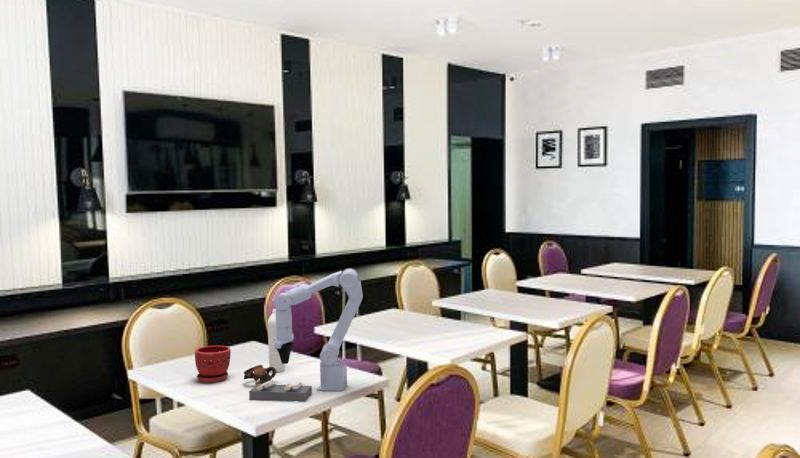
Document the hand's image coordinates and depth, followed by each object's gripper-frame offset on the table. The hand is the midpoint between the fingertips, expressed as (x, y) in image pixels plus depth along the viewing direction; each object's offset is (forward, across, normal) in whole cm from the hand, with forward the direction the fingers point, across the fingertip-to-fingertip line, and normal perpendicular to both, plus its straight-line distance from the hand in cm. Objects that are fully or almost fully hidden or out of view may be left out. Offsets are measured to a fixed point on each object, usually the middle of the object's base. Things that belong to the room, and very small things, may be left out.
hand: (285, 363), depth 227 cm
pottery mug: (+10, -4, -12) cm, 16 cm away
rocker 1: (+5, +10, -4) cm, 12 cm away
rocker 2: (+5, +10, +6) cm, 13 cm away
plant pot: (+10, -8, -32) cm, 34 cm away
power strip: (+9, +9, +2) cm, 13 cm away
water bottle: (+10, -23, -11) cm, 27 cm away
